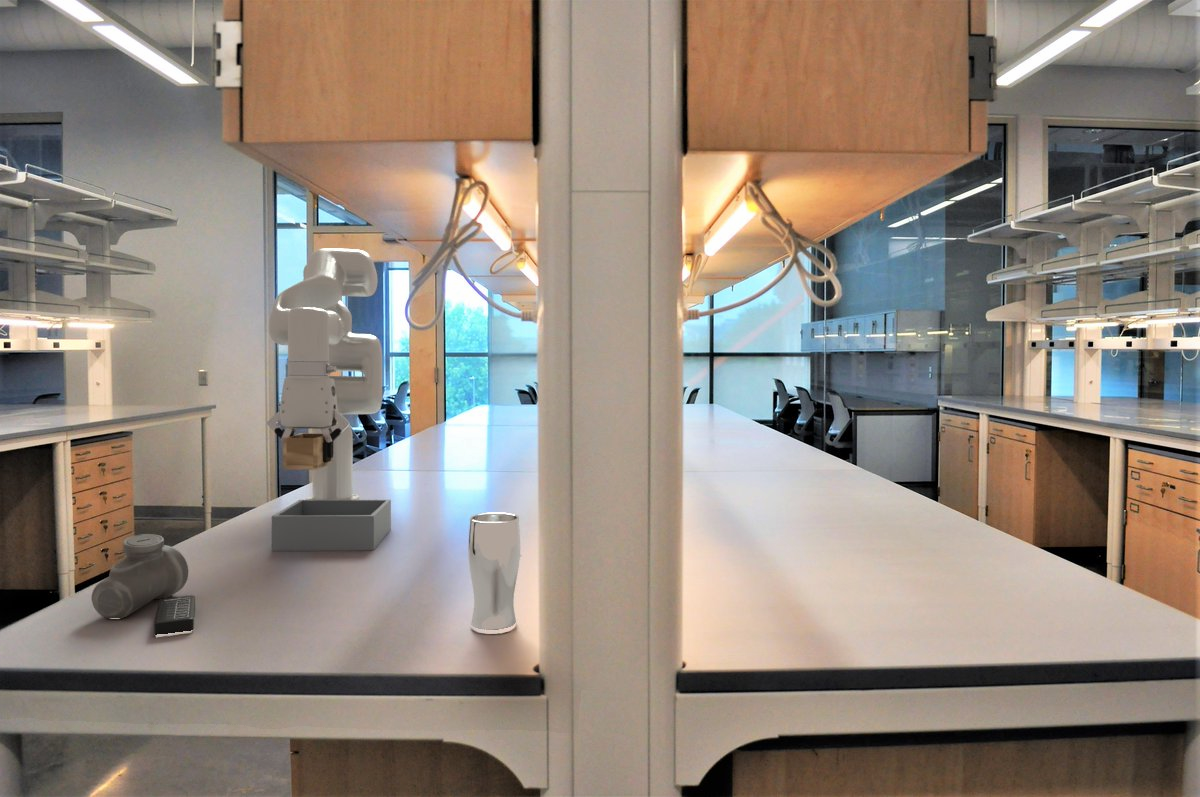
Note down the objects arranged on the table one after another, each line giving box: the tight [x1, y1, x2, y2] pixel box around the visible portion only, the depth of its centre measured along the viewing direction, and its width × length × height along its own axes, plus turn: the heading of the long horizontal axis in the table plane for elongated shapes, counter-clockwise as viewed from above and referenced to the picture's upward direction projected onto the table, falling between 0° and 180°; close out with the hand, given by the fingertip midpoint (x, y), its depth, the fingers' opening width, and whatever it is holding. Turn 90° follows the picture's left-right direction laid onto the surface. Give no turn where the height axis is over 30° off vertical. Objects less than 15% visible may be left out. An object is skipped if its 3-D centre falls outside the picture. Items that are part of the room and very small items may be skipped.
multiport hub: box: [153, 594, 196, 635], centre depth 100 cm, size 4×11×2 cm, turn 27°
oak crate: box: [282, 432, 333, 471], centre depth 146 cm, size 10×6×6 cm, turn 3°
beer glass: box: [467, 512, 521, 630], centre depth 100 cm, size 7×7×15 cm
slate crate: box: [271, 499, 392, 552], centre depth 147 cm, size 17×19×6 cm
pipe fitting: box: [91, 533, 189, 619], centre depth 105 cm, size 12×8×10 cm
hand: (308, 460), depth 146 cm, fingers closed on oak crate, 6 cm apart
